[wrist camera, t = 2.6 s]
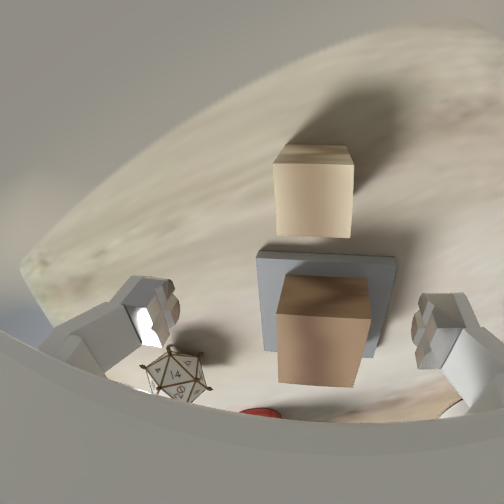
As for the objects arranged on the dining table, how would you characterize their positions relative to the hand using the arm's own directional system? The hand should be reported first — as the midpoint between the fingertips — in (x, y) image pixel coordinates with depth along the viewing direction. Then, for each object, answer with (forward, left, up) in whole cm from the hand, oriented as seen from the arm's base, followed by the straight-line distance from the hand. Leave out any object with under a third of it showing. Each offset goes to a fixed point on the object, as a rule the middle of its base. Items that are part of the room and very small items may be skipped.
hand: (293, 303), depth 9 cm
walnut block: (-1, +13, -14) cm, 19 cm away
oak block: (0, 0, -15) cm, 15 cm away
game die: (+16, +24, -15) cm, 33 cm away
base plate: (-1, +13, -15) cm, 20 cm away
